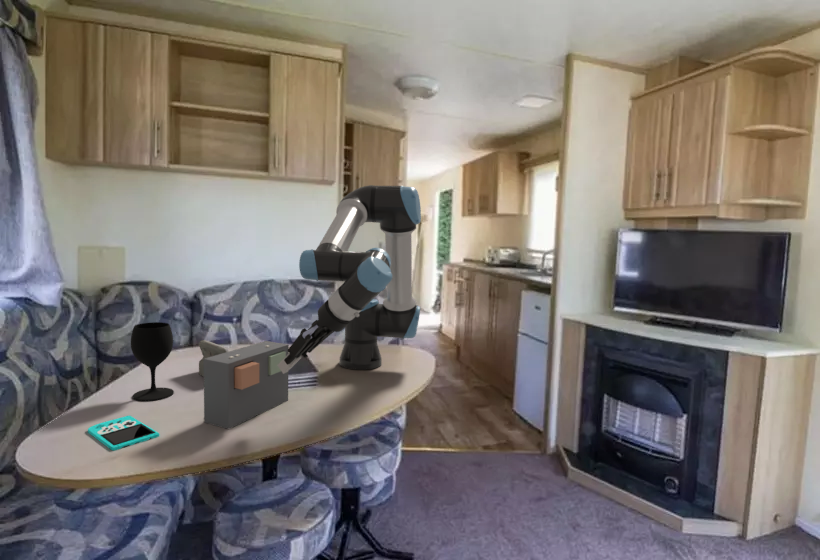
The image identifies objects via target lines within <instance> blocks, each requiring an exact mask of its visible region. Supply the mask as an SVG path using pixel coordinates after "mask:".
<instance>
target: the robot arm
mask: <svg viewBox="0 0 820 560" xmlns="http://www.w3.org/2000/svg"><path fill="white" fill-rule="evenodd" d="M421 207H422V206H421V201H420V195H419V192H418V189H416V188H415V187H413V186H406V185H373V184H372V185H365V186H362V187H358V188H356V189H354V190H353V191H350V192H349V193H348V194H347V195H345V196H344V197H343V198H342V199H341V200H340V201H339V203H338V205H337V207H336V216H335V217H334V218H333V221H332V222H331V223H330V226H329V227H328V229H327V231H326V232H325V234H324V236H323V238H322V239H321V240H320V243H319V244H318V246H317V247H316V249H305V250H303V251H302V252H301V255H300V257H299V262H298V263H299V264H298V266H299V267H298V268H299V269H298V270H299V273H300V276H301V277H302V278H303V279H305V280H310V281H311V280H312V281H316V282H318V281H320V282H321V281H325V282H326V281H327V282H343V283H342V284H341V285H340V286H338V288H337V289H336V290H335V291H334V292H333V293H332V294H331V295H330V296H329V297H328V299H327V300H326V301H325V302H323V304H322V305H320V307H319V308H318V310H317V319H315V321H313V322H312V323H311V325H310V327H309V328H308V329H307V328H306V327H305V328H302V329H301V330H300V333H299V334H298V336H297V337H296V339H295V340H293V342H292V344H291V345H290V346H289V349H288V352H289V354H288V355H287V356H286V357H285V358H284V359H283V360H282V361H281V362H280V363H279V364H278V365H277V366H278V367H279V368H280V370H281V371H282V373H283V374H284V373H287V372H288V373H289V371H290V370H291V369H292V368H293V367H294V366H295V365H296V364H297V363H298V362H299V361H300V360H301V359H302V358H304V359H306V358H308V353H312V351H314V350H315V349H316V348H317V347H318V346H319V345H320V344H322V343H323V342H324V341H326V339H327V338H329V336H331V335H332V334H333V333H334V332H336V333H339V332H341V331H343V330H344V344H343V347H342V350H341V352H340V356H339V366H341V367H342V368H345V369H350V370H358V371H359V370H360V371H361V370H363V371H365V370H371V369H376V368H379V367H381V366H382V363H383V362H382V359H383V358H382V355H381V351H380V348H379V345H378V337H379V338H395V339H396V338H398V339H403V340H404V339H414V338H415V337H416V335H417V332H418V327H419V322H420V314H421V306H419V305H417V300H416V299H415V298H414V297H413V296H412V293H413V286H412V285H413V284H412V283H413V281H412V279H413V278H412V276H413V274H412V272H413V271H412V270H413V269H412V268H413V267H412V263H413V262H412V258H413V257H412V234H413V232H414V231H415V230H416V229H417V225H419V224H421V220H422V213H421V211H422V210H421V209H422V208H421ZM365 223H378V224H380V225H379V226H380V228H379V229H380V230H381V231H382V232H383V233H384V234H385V235H384V239H385V240H384V241H385V243H384V245H385V250H384V249H383V248H381V247H372V248H370V249H368V250H365V252H364V251H349V249H350V247H351V246H352V243H353V241H354V239H355V237H356V234H357V233H358V230H359V229H360V227H363V225H365ZM385 289H386V297H385V298H384V300H383V301H382V303H380V302H379V300H378V299H376V297H377V296H378V295H379V294H381V292H383V291H385Z"/></svg>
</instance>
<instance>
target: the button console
mask: <svg viewBox="0 0 820 560" xmlns="http://www.w3.org/2000/svg"><path fill="white" fill-rule="evenodd" d="M289 347H290V346H289V344H286V343H282V342H274V341H269V340H264V341H261V342H257V343H254V344H251V345H247V346H243V347H240V348H237V349H234V350H228V351H229V352H226V353H222V354H219V355H215V356H212V357H208V358H205V359H204V377H203V420H204V421H203V423H205V424H209V425H213V426H217V427H220V428H224V429H228V430H229V429H232V428H234V427H236V426H238V425H240V424H243V423H245V422H247V421H249V420H250V419H252V417H253V418H254V417H256V415H257V416H258V414H259V415H260V413H261V414H262V412H263V413H265V412H267V411H269V410H271V409H274V408H275V407H277V406H279V405H281V404H284V403H285V402H287V401H289V371H288V372H287V373H284V374H283V373H282V371H281V372H278V373H275V374H273V375H268V355H271V354H274V353H277V352H280V351H284V352H286V356H287V355H288V354H289V352H288V349H289ZM250 362H256V363H259V383H257V384H255V385H252V386H250V387H247V388H245V389H242V390H241V389H237V388H234V368H235V367H238V366H241V365H244V364H247V363H250ZM264 411H265V412H264Z"/></svg>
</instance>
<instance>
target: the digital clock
mask: <svg viewBox="0 0 820 560" xmlns="http://www.w3.org/2000/svg"><path fill="white" fill-rule="evenodd" d="M198 346H199V350H200V352H201V355H202V357H201V359H200V360H199V361H198V375H200V376H202V377H203V378H204V359H205V358H208V357H212V356H215V355H219V354H222V353H226V352H229V351H230V350H228V348H227V347H225V346H222V345H220V344H217V343H215V342H212V341H209V340H200V341H199V342H198Z"/></svg>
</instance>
